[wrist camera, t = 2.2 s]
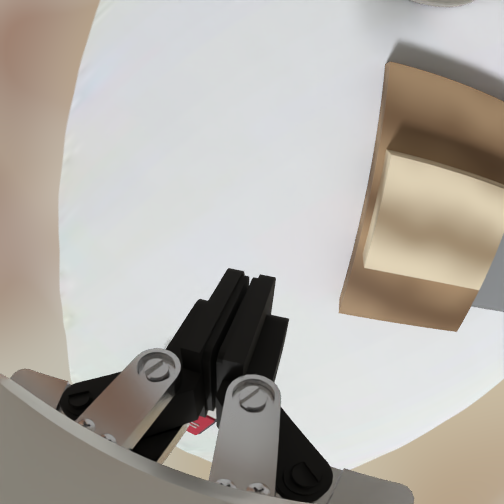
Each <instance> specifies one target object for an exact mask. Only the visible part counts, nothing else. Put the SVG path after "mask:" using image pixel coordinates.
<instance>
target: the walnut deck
mask: <svg viewBox="0 0 504 504" xmlns="http://www.w3.org/2000/svg"><path fill="white" fill-rule="evenodd" d="M386 149H388V150H392V151H397V152H401V153H405V154H409V155H412V156H416V157H420V158H424V159H427V160H431V161H434V162H438V163H441V164H445V165H448V166H451V167H454V168H457V169H461V170H464V171H467V172H470V173H473V174H476V175H479V176H481V177H484V178H487V179H490V180H492V181H495V182H498V183H500V184H503V185H504V101H502V100H499V99H497V98H495V97H493V96H491V95H488V94H486V93H484V92H482V91H479V90H477V89H474V88H472V87H469V86H467V85H464V84H462V83H459V82H456V81H454V80H451V79H448V78H445V77H442V76H439V75H436V74H433V73H430V72H427V71H424V70H420V69H417V68H413V67H410V66H406V65H402V64H398V63H395V62H388V63H387V64H385V73H384V82H383V91H382V99H381V107H380V115H379V122H378V129H377V135H376V141H375V147H374V153H373V159H372V165H371V170H370V175H369V180H368V186H367V190H366V195H365V200H364V205H363V209H362V214H361V218H360V223H359V227H358V231H357V235H356V239H355V244H354V248H353V251H352V255H351V259H350V263H349V267H348V271H347V274H346V278H345V281H344V285H343V288H342V292H341V295H340V299H339V313H342V314H347V315H353V316H359V317H364V318H370V319H376V320H382V321H388V322H394V323H400V324H407V325H413V326H420V327H426V328H433V329H440V330H447V331H455V332H457V331H458V329H459V327H460V325H461V324H462V322H463V320H464V318H465V316H466V315H467V313H468V311H469V309H470V307H471V305H472V303H473V301H474V299H475V298H476V296H477V294H478V292H479V290H476V289H471V288H465V287H460V286H455V285H450V284H445V283H440V282H435V281H430V280H425V279H420V278H414V277H409V276H404V275H399V274H394V273H389V272H383V271H378V270H373V269H368V268H364V262H363V250H364V247H365V243H366V239H367V235H368V231H369V227H370V223H371V219H372V215H373V211H374V206H375V202H376V198H377V193H378V188H379V184H380V179H381V174H382V169H383V164H384V158H385V153H386Z"/></svg>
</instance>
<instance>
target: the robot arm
mask: <svg viewBox="0 0 504 504" xmlns="http://www.w3.org/2000/svg"><path fill="white" fill-rule="evenodd" d="M410 1H413V2H416V3H419V4H424V5H429V6H434V7H448V8H450V7H457V6H463V5H465V4H468V3H471V2H472V1H474V0H410ZM275 281H276V278H275V277H270V276H265V275H259V277H258V278H254V277H253V279H252V281H251V283H250V285H249V276H244V271H240V270H235V269H230V268H228V269H227V271H226V272H225V274H224V276H223V277H222V279H221V281H220V282H219V284H218V286H217V287H216V289H215V291H214V292H213V294H212V295H211V297H210V299H209V300H208V301H206V300H202V299H199V300H198V301H197V302H196V303H195V305H194V306H193V308H192V309H191V311H190V313H189V314H188V316H187V317H186V319H185V320H184V322H183V323H182V325H181V326H180V328H179V330H178V331H177V333H176V334H175V336H174V337H173V339H172V340H171V342H170V344H169V345H168V347H167V348H166V350H165V349H160V348H154V349H148V350H146V351H143V352H141V353H140V354H139V355H138V356H136V357H135V358H134V359H133V361H132V362H131V363H130V364H129V365H128V366H127V367H126V368H125V369H124V370H123V371H122V372H118V373H115V374H111V375H107V376H103V377H99V378H95V379H91V380H87V381H82V382H78V383H75V384H73V385H70V384H69V382H68V381H65V380H62V379H58V378H55V377H51V376H49V375H45V374H42V373H39V372H36V371H33V370H30V369H21V370H18V371H17V372H15V373H14V374H13V375H12V377H11V378H8V377H6V376H4V375H2V374H0V504H414V497H413V494H412V491H411V490H410V489H409V488H408V487H407V486H405V485H402V484H400V483H396V482H391V481H387V480H383V479H379V478H375V477H372V476H368V475H364V474H361V473H357V472H354V471H351V470H348V469H345V468H344V469H343V470H340V469H337V468H333V467H331V466H330V465H329V464H328V462H327V461H326V460H325V459H324V458H323V457H322V455H321V454H320V453H319V452H318V451H317V450H316V449H315V447H314V446H313V445H312V444H311V443H310V442H309V440H308V439H307V438H306V437H305V436H304V434H303V433H302V432H301V431H300V430H299V428H298V427H297V426H296V425H295V424H294V422H293V421H292V420H291V419H290V418H289V416H288V415H287V414H286V413H285V411H284V410H283V409H282V408H281V394H280V390H279V388H278V387H277V385H276V384H275V383H274V381H275V378H276V374H277V370H278V366H279V362H280V358H281V354H282V350H283V346H284V342H285V337H286V332H287V327H288V322H289V319H288V318H283V317H278V316H273V315H271V310H272V303H273V296H274V288H275ZM215 408H216V420H217V427H218V429H219V431H218V436H217V441H216V446H215V451H214V456H213V461H212V467H211V471H210V476H209V481H207V480H204V479H201V478H197V477H195V476H192V475H189V474H186V473H183V472H180V471H178V470H175V469H172V468H170V467H167V466H164V465H162V464H163V463H164V461H165V460H166V459H167V457H168V456H169V454H170V453H171V451H172V450H173V449H174V447H175V446H176V444H177V443H178V442H179V440H180V439H181V437H182V436H183V434H184V433H185V432H186V430H187V429H188V427H189V424H190V422H193V421H196V420H198V418H199V416H201V417H204V418H206V416H207V413H208V411H209V410H210V411H214V410H215Z"/></svg>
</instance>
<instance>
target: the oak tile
mask: <svg viewBox="0 0 504 504" xmlns="http://www.w3.org/2000/svg"><path fill="white" fill-rule="evenodd" d="M503 234H504V185H503V184H500V183H498V182H495V181H492V180H490V179H487V178H484V177H481V176H479V175H476V174H473V173H470V172H467V171H464V170H461V169H457V168H454V167H451V166H448V165H445V164H441V163H438V162H434V161H431V160H427V159H424V158H420V157H416V156H412V155H409V154H405V153H401V152H397V151H392V150H388V149H386V153H385V158H384V164H383V169H382V174H381V179H380V184H379V188H378V193H377V198H376V202H375V206H374V211H373V215H372V219H371V223H370V227H369V231H368V235H367V239H366V243H365V247H364V250H363V262H364V268H368V269H373V270H378V271H383V272H389V273H394V274H399V275H404V276H409V277H414V278H420V279H425V280H430V281H435V282H440V283H445V284H450V285H455V286H460V287H465V288H471V289H476V290H480V288H481V286H482V283H483V281H484V279H485V277H486V275H487V273H488V270H489V268H490V266H491V264H492V261H493V259H494V257H495V254H496V252H497V249H498V247H499V244H500V242H501V239H502V236H503Z"/></svg>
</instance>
